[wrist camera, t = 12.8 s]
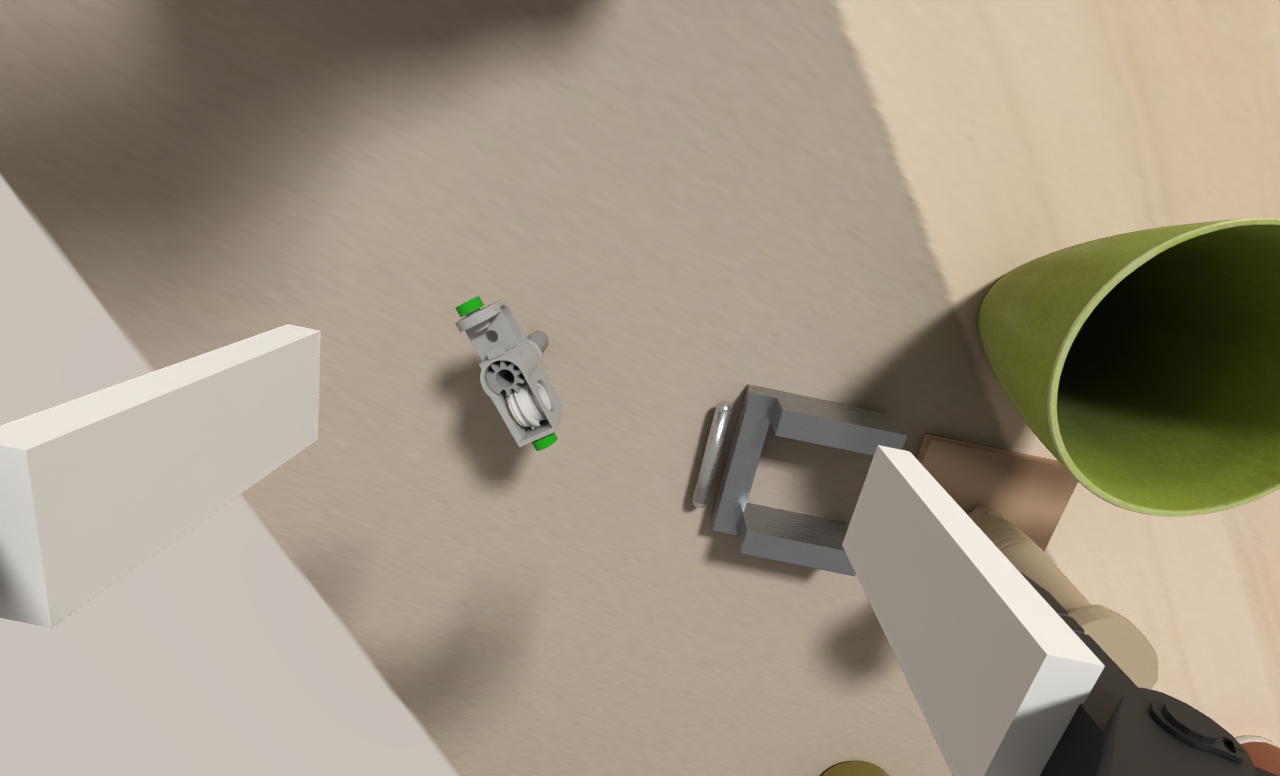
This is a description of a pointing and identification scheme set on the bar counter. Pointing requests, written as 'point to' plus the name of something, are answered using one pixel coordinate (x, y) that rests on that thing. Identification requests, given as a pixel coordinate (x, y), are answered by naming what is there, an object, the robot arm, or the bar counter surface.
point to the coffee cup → (1262, 753)
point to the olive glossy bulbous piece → (855, 769)
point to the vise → (732, 514)
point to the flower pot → (1150, 362)
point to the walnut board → (1001, 483)
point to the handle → (1073, 599)
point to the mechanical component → (513, 371)
